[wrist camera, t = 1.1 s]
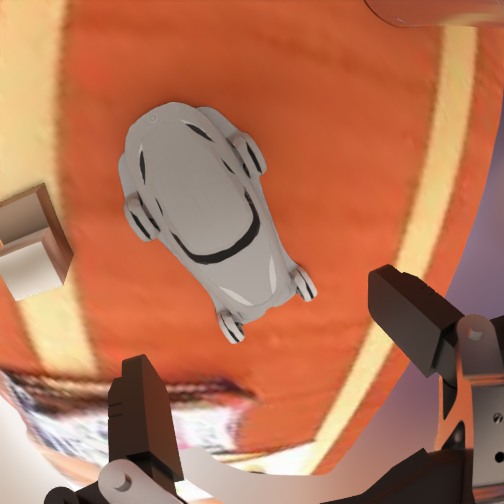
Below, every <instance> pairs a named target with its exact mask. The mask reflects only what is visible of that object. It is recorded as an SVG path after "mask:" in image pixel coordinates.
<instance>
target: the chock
mask: <svg viewBox="0 0 504 504" xmlns="http://www.w3.org/2000/svg"><path fill="white" fill-rule="evenodd" d="M0 239H1V241H2V243H3V247H2V248H1V250H0V274H1V276H2V278H3V280H4V281H5V283H6V285H7V287H8V288H9V290H10V292H11V294H12V295H13V297H14V298H15V300H16V301H18V300H21V299H24V298H27V297H30V296H33V295H36V294H39V293H42V292H45V291H48V290H51V289H54V288H57V287H60V286H63V284H64V281H65V278H66V275H67V272H68V269H69V266H70V263H71V260H72V257H73V253H72V251H71V248H70V246H69V244H68V242H67V239H66V237H65V235H64V232H63V230H62V228H61V225H60V223H59V220H58V218H57V216H56V213H55V211H54V208H53V205H52V203H51V200H50V198H49V195H48V192H47V189H46V187H45V184H44V183H43V184H41V185H39V186H36V187H34V188H32V189H29V190H27V191H25V192H23V193H21V194H18V195H16V196H14V197H12V198H10V199H8V200H5V201H3V202H1V203H0Z"/></svg>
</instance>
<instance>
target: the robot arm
mask: <svg viewBox="0 0 504 504" xmlns="http://www.w3.org/2000/svg"><path fill="white" fill-rule="evenodd" d="M365 1H366V3H367V4H368V5H369V7H370V8H371V9H372V10H373V11H374V12H375V13H376V14H377V15H378V16H379V17H380V18H382V19H383V20H384V21H386V22H388V23H390V24H392V25H395V26H398V27H421V26H471V27H487V28H498V29H504V0H365ZM368 309H369V312H370V314H371V316H372V318H373V319H374V321H375V322H376V323H377V324H378V325H379V326H380V327H381V328H382V329H383V330H384V331H385V333H386V334H387V335H388V336H389V337H390V338H391V339H392V340H393V341H394V342H395V343H396V344H397V346H398V347H399V348H400V349H401V350H402V351H403V352H404V353H405V354H406V355H407V357H408V358H409V359H410V360H411V361H412V362H413V363H414V364H415V365H416V366H417V368H418V369H419V370H420V371H421V372H422V373H423V374H424V375H425V377H426V378H427V377H429V376H430V375H432V374H433V373H435V372H436V371H437V372H438V373H439V374H440V378H439V427H438V432H437V435H436V439H435V444H434V451H433V452H430V453H427V452H426V451H425V449H424V448H422V449H421V450H419V451H418V452H416V453H415V454H413V455H411V456H410V457H408V458H407V459H405V460H403V461H402V462H400V463H399V464H397V465H395V466H394V467H392V468H391V469H390V470H389V471H388V472H387V473H386V474H385V475H384V476H383V477H382V478H380V479H379V480H378V481H377V482H376V483H375V484H374V485H373V486H371V487H370V488H369V489H368V490H367V491H365V492H364V493H362V494H360V495H356V496H352V497H348V498H344V499H339V500H335V501H330V502H325V503H320V504H504V315H503V316H500V317H497V318H494V319H491V320H488V319H487V318H485V317H483V316H481V315H476V314H470V315H466V316H465V315H463V314H462V313H461V312H460V311H459V310H458V309H456V308H455V307H454V306H453V305H451V304H450V303H449V302H448V301H447V300H446V299H444V298H443V297H442V296H441V295H439V294H438V293H435V291H434V290H433V289H432V288H431V287H430V286H427V284H426V283H424V282H423V281H422V280H421V279H419V278H418V277H416V276H414V275H411V274H408V273H406V272H403V273H401V272H399V271H398V270H397V269H395V268H394V267H393V266H392V265H390V264H387V265H384V266H382V267H380V268H378V269H375V270H373V271H371V272H370V273H369V275H368ZM108 406H109V408H108V417H109V419H108V445H109V463H108V464H107V465H106V466H105V467H104V468H103V469H102V470H101V472H100V474H99V478H98V481H96V482H95V483H93V484H91V485H89V486H86V487H84V488H82V489H80V490H78V491H76V492H74V491H72V490H70V489H69V488H66V487H56V488H54V489H52V490H51V491H50V492H49V493H48V494H47V495H46V498H45V500H44V504H189V503H188V502H187V501H185V500H184V499H183V498H181V497H180V496H179V495H177V493H176V489H175V484H174V482H178V481H183V480H184V476H183V471H182V467H181V462H180V457H179V452H178V447H177V442H176V436H175V431H174V425H173V420H172V414H171V407H170V401H169V396H168V392H167V390H166V387H165V385H164V383H163V381H162V380H161V378H160V377H159V375H158V374H157V372H156V371H155V369H154V367H153V366H152V364H151V363H150V361H149V360H148V358H147V357H146V355H144V354H142V355H139V356H135V357H132V358H129V359H125V360H123V361H122V377H119V378H116V379H114V380H113V383H112V385H111V387H110V390H109V392H108Z"/></svg>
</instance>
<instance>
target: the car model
mask: <svg viewBox="0 0 504 504" xmlns="http://www.w3.org/2000/svg"><path fill="white" fill-rule="evenodd" d="M226 138H227V139H226ZM227 140H228V141H227ZM266 170H267V166H266V163H265V160H264V158H263V155H262V153H261V151H260V150H259V148H258V146H257V145H256V143H255V142H254V140H253V139H252V138H251V137H250V136H249V135H248V133H245V132H241V131H239V130H238V129H237V128H236V127H235V126H234V125H233V124H231V123H230V122H229V121H228V120H227V119H226V118H225V117H224V116H223V115H222V114H221V113H219V112H218V111H217V110H215V109H213V108H210V107H198V108H193V107H191V106H189V105H187V104H184V103H178V102H170V103H167V104H164V105H162V106H159V107H156V108H154V109H153V110H151V111H149V112H148V113H146V114H145V115H143V116H142V117H141V118H139V119H138V120H137V121H136V122H135V123H134V124H133V125H132V126H131V127H130V128H129V131H128V133H127V136H126V141H125V152H124V153H123V154H122V155H121V157H120V159H119V163H118V171H119V177H120V180H121V184H122V188H123V192H124V197H125V203H124V205H123V209H124V214H125V216H126V218H127V221H128V223H129V224H130V226H131V228H132V229H133V231H134V232H135V233H136V235H137V236H138V237H139V238H140V239H141V240H142V241H144V242H147V241H152V240H153V239H156V238H158V239H159V240H160V241H161V242H162V243H163V244H164V245H165V246H166V247H167V248H168V249H169V250H170V251H171V252H172V253H173V254H174V255H175V256H176V257H177V258H178V260H179V261H180V262H181V263H182V264H183V265H184V266H185V267H186V268H187V269H188V270H189V272H190V273H191V274H192V275H193V276H194V277H195V278H196V279H197V280H198V281H199V282H200V283H201V284H202V285H203V286H204V287H205V289H206V290H207V292H208V293H209V295H210V296H211V298H212V300H213V302H214V305H215V308H216V312H217V320H218V323H219V325H220V327H221V329H222V331H223V333H224V334H225V336H226V337H227V339H228V340H229V341H230V342H231V343H232V344H234V343H238V342H241V341H242V340H243V339H244V338H245V334H244V331H243V328H242V325H244V324H247V323H249V322H252V321H254V320H257V319H258V318H260V317H261V316H263V315H264V314H265V312H266V310H267V309H269V308H270V307H271V306H272V307H278V306H280V305H282V304H284V303H285V302H287V301H288V300H289V299H290V298H292V297H293V296H294V295H295V294H296V293H298V294H299V295H300V296H301V297H302V298H303V300H304V301H305V302H306V301H311V300H313V298H315V297H316V295H317V291H316V288H315V286H314V284H313V283H312V281H311V279H310V277H309V276H308V274H307V273H306V272H305V270H304V269H303V268H302V267H300V266H298V265H297V264H296V263H295V262H294V261H293V260H292V259H291V258H290V257H289V256H288V254H287V253H286V252H285V250H284V248H283V246H282V244H281V242H280V239H279V236H278V234H277V231H276V228H275V225H274V222H273V220H272V217H271V214H270V211H269V209H268V206H267V203H266V200H265V197H264V194H263V190H262V187H261V183H260V180H259V177H260V176H261V175H263V174H264V173H265V171H266ZM250 243H251V244H250ZM249 244H250V245H249ZM242 249H243V250H242ZM291 277H292V278H291Z"/></svg>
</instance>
